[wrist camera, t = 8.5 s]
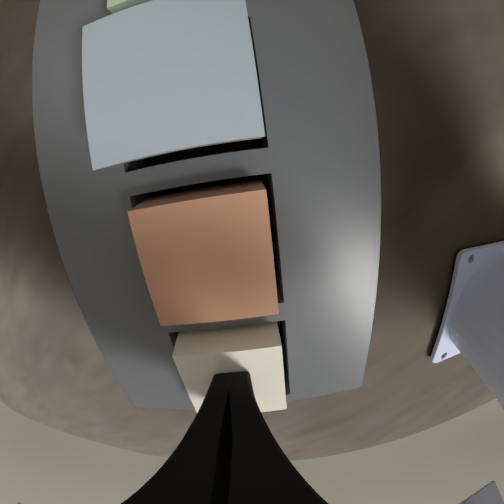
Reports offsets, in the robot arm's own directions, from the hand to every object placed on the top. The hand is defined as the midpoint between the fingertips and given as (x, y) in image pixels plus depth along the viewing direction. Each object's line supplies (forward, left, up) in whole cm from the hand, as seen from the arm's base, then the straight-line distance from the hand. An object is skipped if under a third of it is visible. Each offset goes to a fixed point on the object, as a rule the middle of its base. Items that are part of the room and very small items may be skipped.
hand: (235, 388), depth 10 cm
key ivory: (0, 0, -3) cm, 3 cm away
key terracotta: (0, -5, -3) cm, 6 cm away
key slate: (0, -11, -1) cm, 11 cm away
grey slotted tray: (0, -8, -3) cm, 9 cm away
